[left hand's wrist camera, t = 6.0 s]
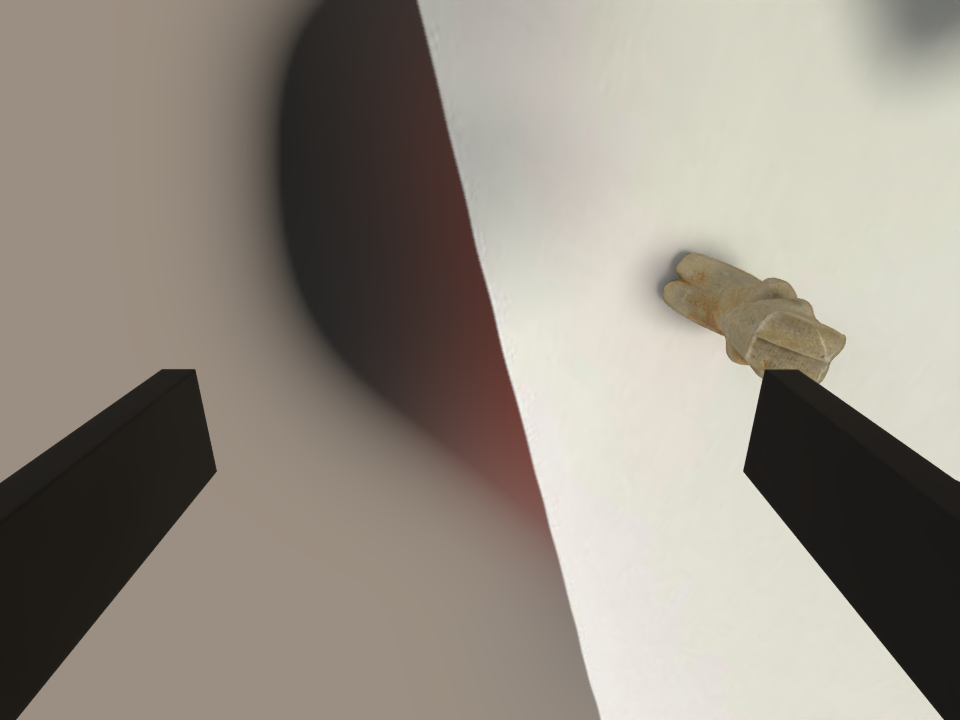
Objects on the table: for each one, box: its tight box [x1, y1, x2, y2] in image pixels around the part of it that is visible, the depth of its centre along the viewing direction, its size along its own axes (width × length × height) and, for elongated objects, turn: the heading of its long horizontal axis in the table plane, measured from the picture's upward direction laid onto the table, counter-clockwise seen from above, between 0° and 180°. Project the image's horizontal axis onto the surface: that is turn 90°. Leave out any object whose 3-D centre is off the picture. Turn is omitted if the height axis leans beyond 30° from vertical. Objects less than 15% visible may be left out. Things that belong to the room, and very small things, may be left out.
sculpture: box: [663, 253, 846, 384], centre depth 36 cm, size 6×7×15 cm
